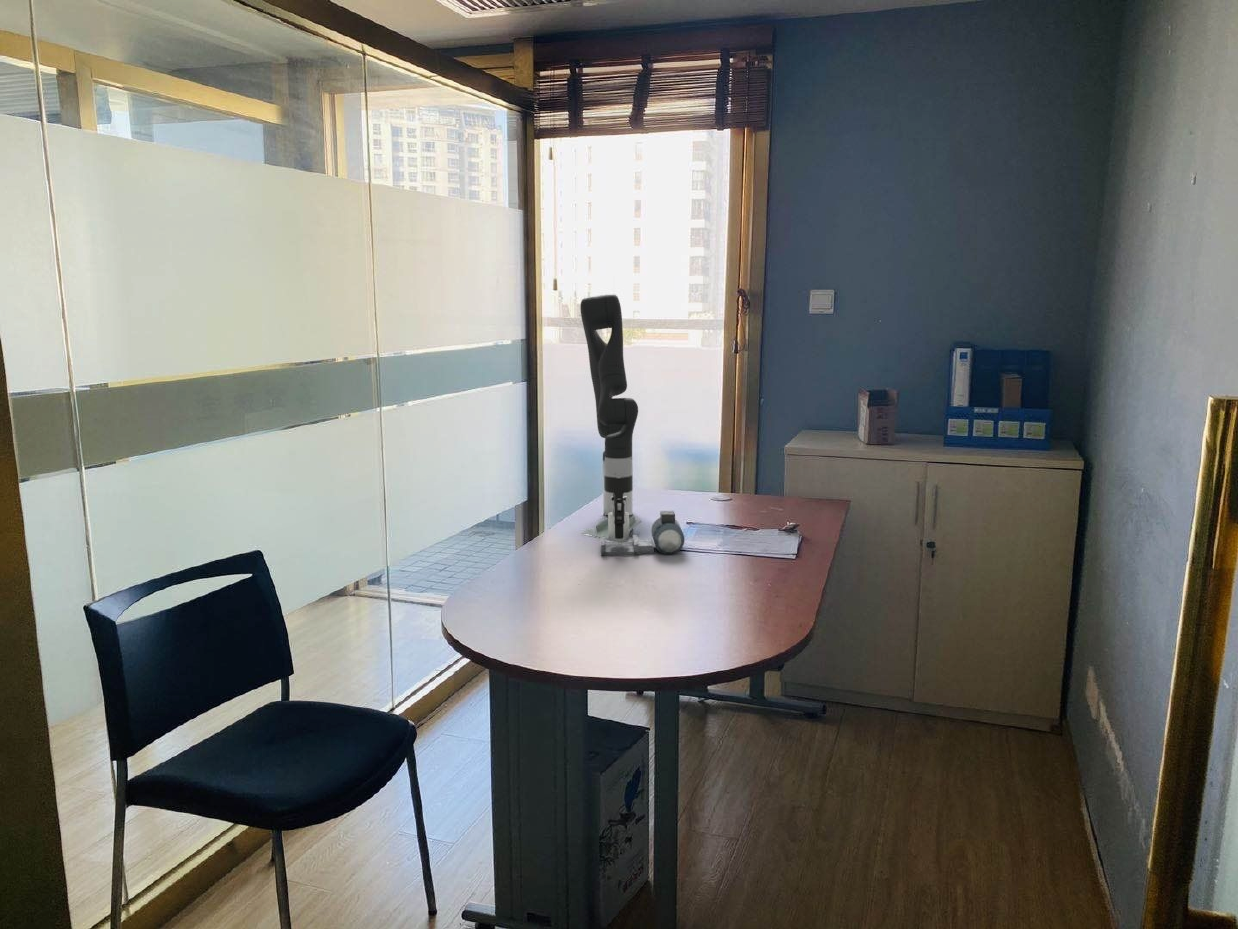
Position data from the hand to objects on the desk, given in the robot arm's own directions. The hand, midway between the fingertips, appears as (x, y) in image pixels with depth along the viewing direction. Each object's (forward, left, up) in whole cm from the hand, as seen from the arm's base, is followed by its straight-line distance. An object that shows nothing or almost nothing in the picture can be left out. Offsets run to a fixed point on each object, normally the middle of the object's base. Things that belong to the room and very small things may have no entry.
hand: (618, 535), depth 238 cm
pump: (0, 0, -1) cm, 1 cm away
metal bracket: (-18, -1, -5) cm, 18 cm away
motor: (0, +6, -4) cm, 7 cm away
